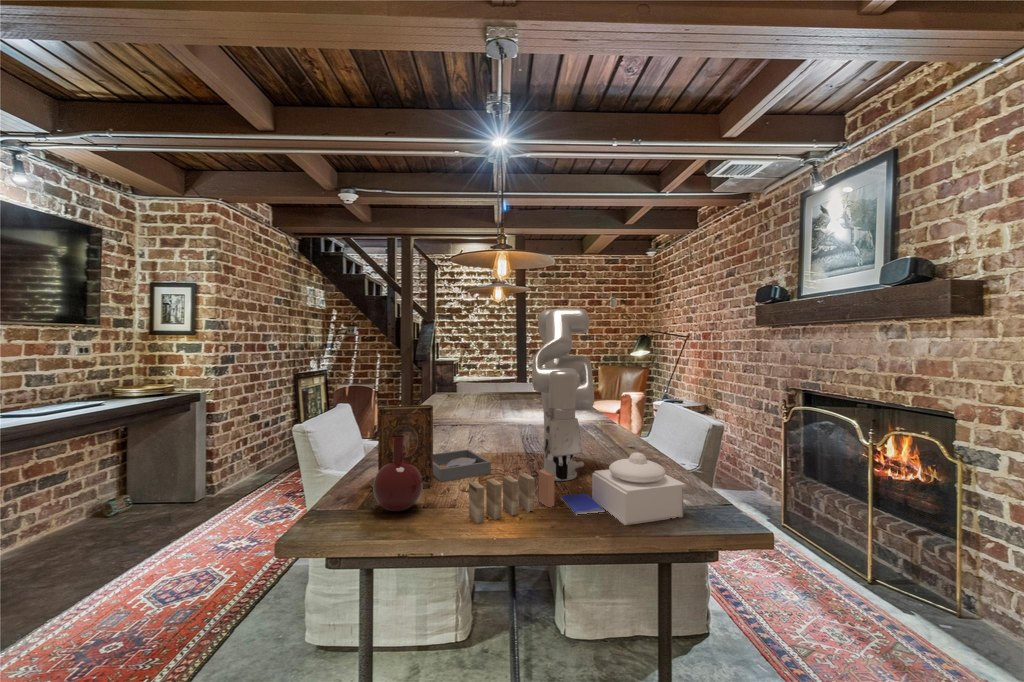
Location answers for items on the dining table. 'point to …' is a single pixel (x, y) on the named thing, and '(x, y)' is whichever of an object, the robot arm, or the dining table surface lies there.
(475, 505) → the domino
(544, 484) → the domino
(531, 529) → the dining table surface
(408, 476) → the round-bottom flask
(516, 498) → the domino
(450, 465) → the stone block
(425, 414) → the book
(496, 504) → the domino
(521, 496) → the domino
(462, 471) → the slate frame
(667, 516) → the butter dish
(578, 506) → the hard drive
